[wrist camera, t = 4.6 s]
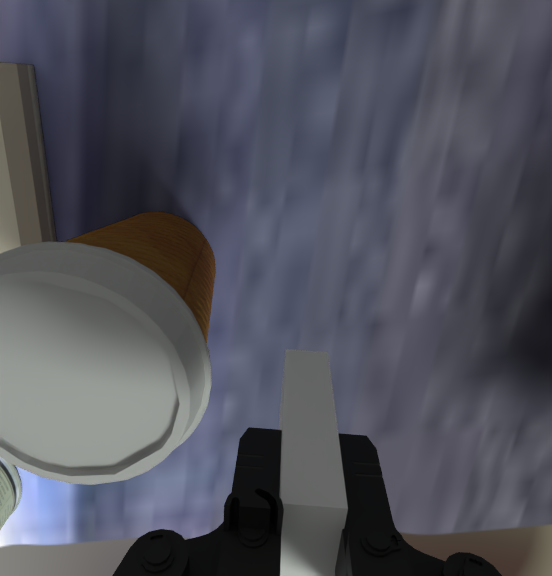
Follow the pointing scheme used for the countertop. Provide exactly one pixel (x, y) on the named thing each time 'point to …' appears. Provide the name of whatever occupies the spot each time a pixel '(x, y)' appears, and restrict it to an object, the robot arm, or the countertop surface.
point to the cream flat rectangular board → (22, 162)
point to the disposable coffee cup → (104, 348)
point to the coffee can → (8, 490)
